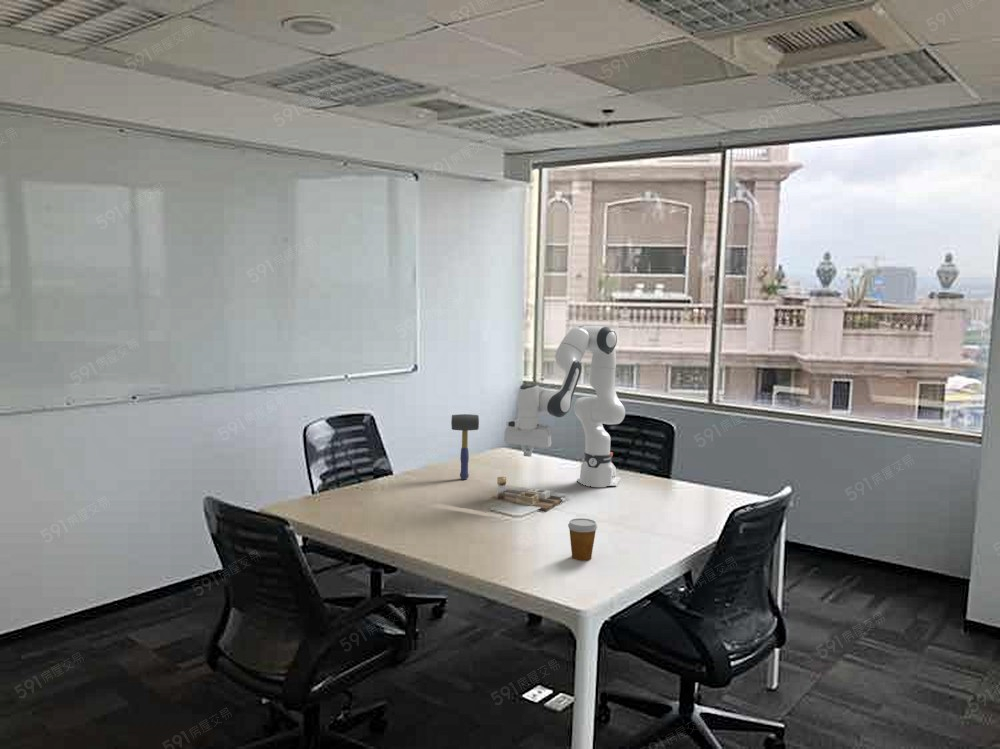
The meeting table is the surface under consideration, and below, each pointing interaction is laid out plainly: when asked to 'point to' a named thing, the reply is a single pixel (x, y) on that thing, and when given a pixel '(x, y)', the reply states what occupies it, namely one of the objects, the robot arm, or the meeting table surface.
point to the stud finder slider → (543, 493)
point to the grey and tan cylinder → (501, 487)
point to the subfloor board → (544, 503)
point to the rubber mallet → (465, 437)
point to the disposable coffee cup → (582, 538)
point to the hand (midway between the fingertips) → (527, 456)
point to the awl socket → (527, 498)
